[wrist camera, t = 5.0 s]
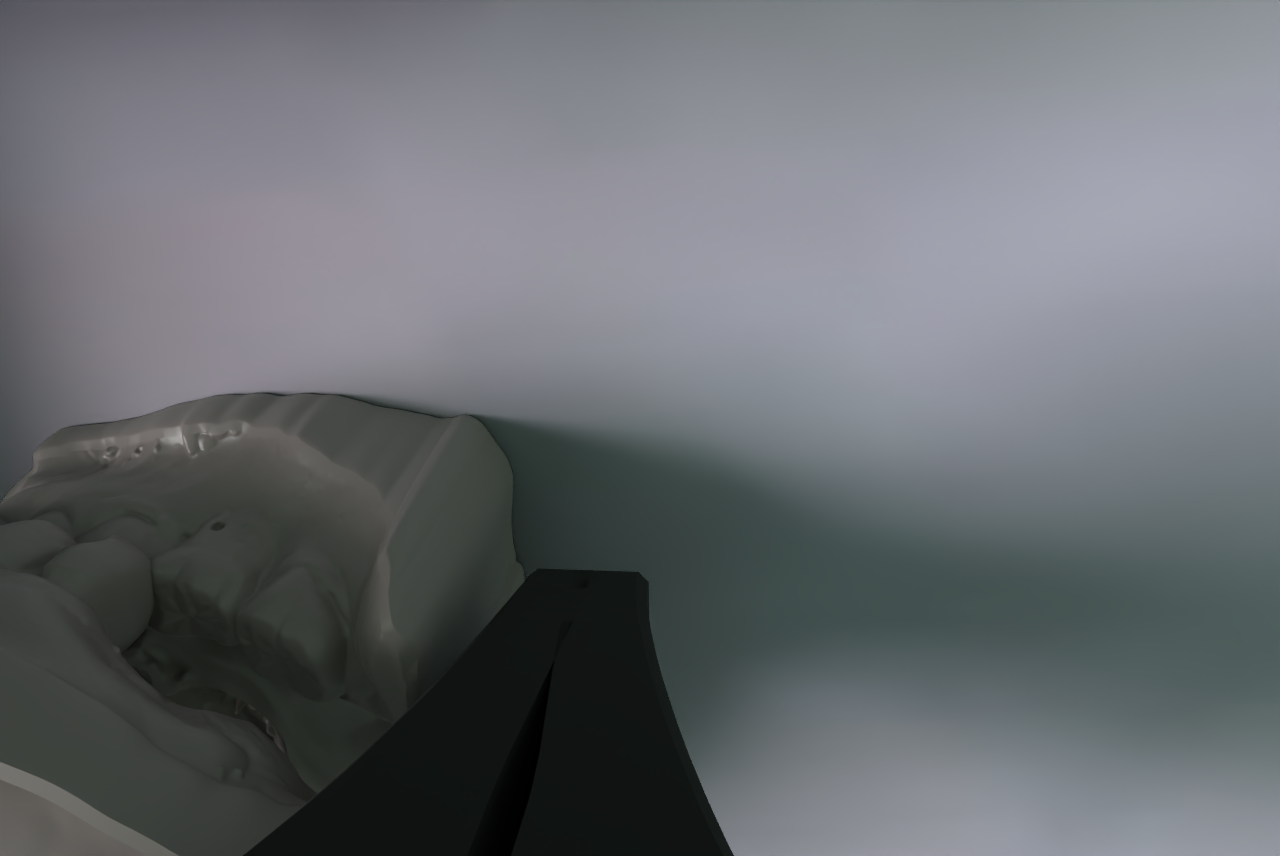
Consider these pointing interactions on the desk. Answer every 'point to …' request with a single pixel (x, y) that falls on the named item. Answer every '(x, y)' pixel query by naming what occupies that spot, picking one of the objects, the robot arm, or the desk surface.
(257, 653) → the dental mold
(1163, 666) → the desk surface
